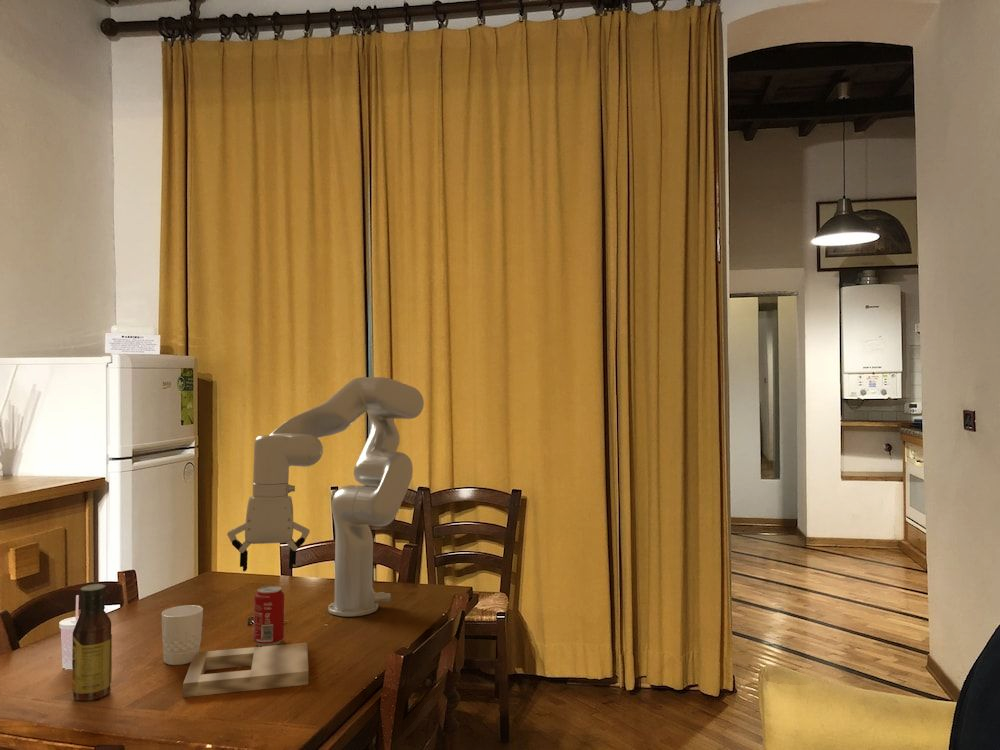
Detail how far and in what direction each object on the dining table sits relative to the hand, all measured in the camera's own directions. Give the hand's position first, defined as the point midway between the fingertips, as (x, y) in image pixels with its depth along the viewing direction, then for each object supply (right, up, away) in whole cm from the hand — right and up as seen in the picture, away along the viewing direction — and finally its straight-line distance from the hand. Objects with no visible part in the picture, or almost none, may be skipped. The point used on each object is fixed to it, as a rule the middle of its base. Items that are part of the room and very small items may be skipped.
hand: (268, 568), depth 156 cm
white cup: (-15, -16, -10) cm, 24 cm away
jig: (+2, -16, -17) cm, 24 cm away
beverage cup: (-35, -16, -13) cm, 40 cm away
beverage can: (0, -17, 0) cm, 17 cm away
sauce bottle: (-23, -16, -28) cm, 39 cm away
